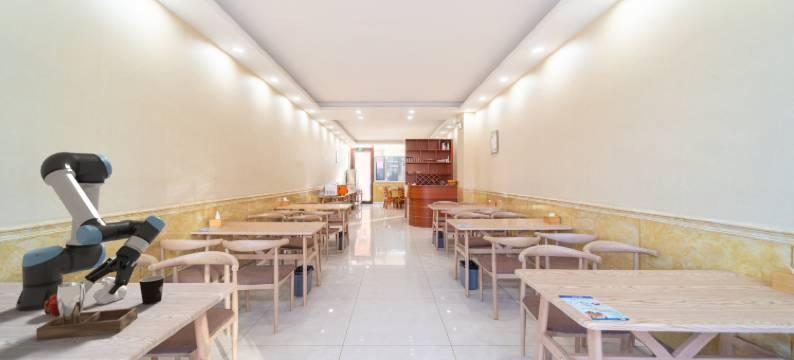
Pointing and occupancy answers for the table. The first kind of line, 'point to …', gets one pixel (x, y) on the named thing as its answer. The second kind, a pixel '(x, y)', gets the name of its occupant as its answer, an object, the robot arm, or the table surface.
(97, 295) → the white lumpy irregular piece
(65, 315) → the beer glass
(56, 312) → the dragon fruit
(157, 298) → the coffee mug
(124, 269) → the robot arm
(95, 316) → the wooden tray
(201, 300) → the table surface
